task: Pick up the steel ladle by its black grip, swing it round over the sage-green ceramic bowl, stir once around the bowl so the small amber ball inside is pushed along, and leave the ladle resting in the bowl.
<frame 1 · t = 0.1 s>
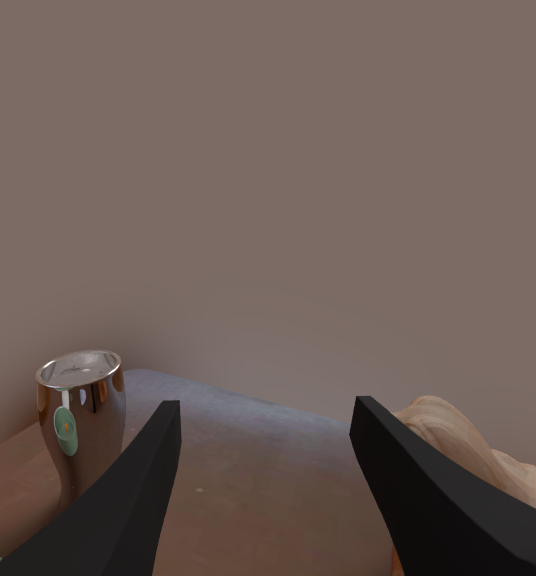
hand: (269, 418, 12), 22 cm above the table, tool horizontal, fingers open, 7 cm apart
beer glass: (95, 497, 31), on the table
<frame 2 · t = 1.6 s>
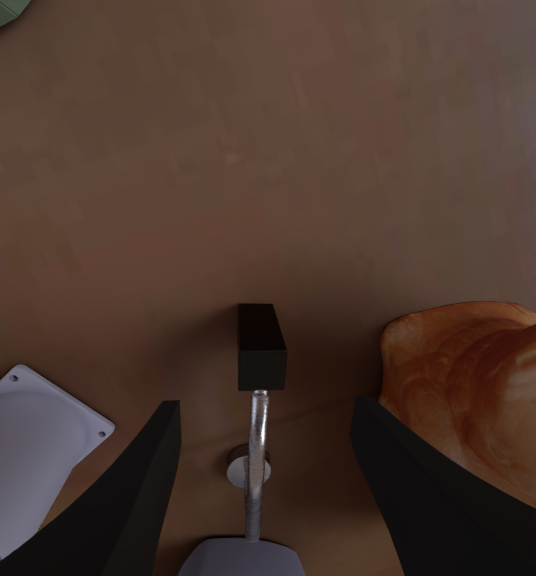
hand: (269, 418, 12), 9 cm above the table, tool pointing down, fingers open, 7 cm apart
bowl: (236, 571, 30), on the table
ceramic vessel: (442, 395, 25), on the table
ladle: (248, 460, 25), on the table
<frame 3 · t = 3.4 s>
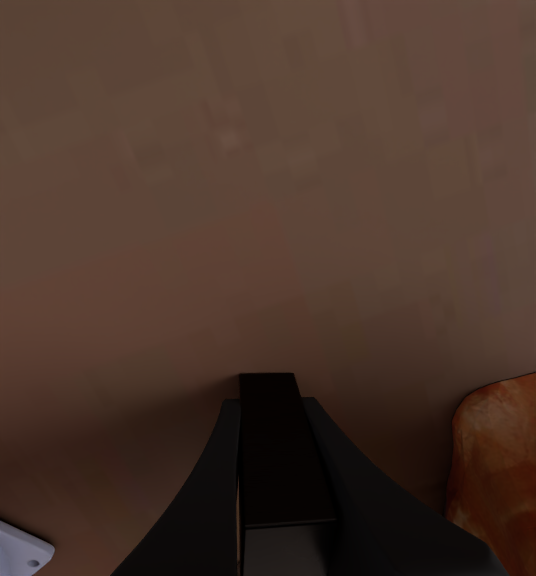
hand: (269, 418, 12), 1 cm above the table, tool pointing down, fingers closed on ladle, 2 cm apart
ceramic vessel: (529, 485, 18), on the table
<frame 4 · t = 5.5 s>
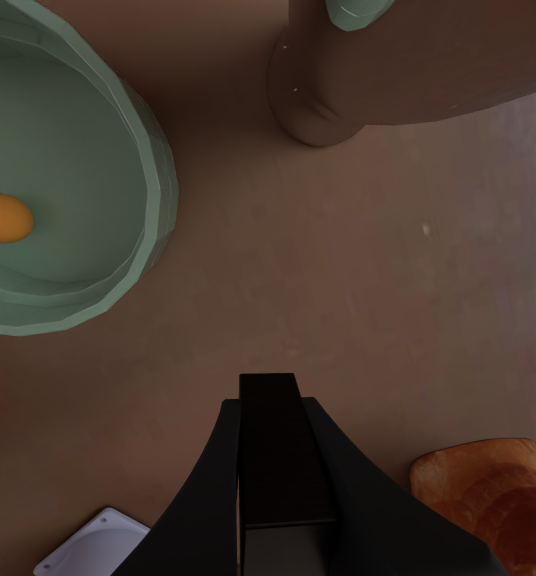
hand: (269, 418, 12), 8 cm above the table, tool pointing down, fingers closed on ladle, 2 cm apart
beer glass: (322, 84, 16), on the table
ceramic vessel: (461, 507, 29), on the table
soup bowl: (55, 182, 16), on the table
orange ball: (2, 218, 15), point 2 cm above the table, touching soup bowl
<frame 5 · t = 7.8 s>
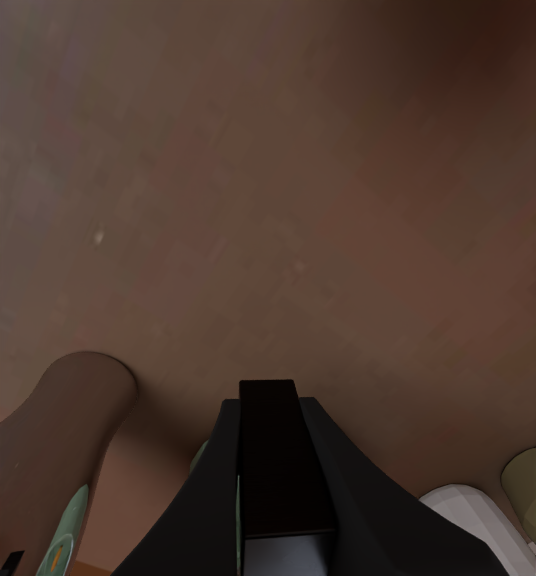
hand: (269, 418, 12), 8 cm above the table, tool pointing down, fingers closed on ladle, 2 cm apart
squeeze bottle: (527, 466, 28), on the table
beer glass: (93, 388, 21), on the table
cup: (440, 515, 29), on the table
soup bowl: (270, 471, 25), on the table
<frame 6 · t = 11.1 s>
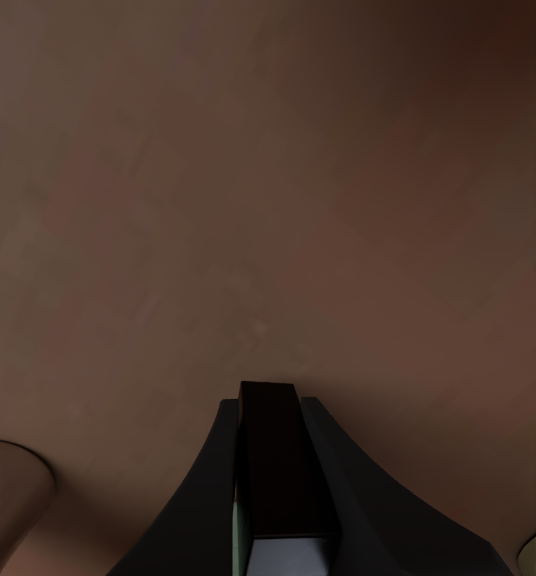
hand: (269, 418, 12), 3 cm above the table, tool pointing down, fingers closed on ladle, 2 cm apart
soup bowl: (235, 564, 20), on the table
when the fingers open (2 cm above the table, at t = 12.6 s): ladle stays where it is, resting on soup bowl.
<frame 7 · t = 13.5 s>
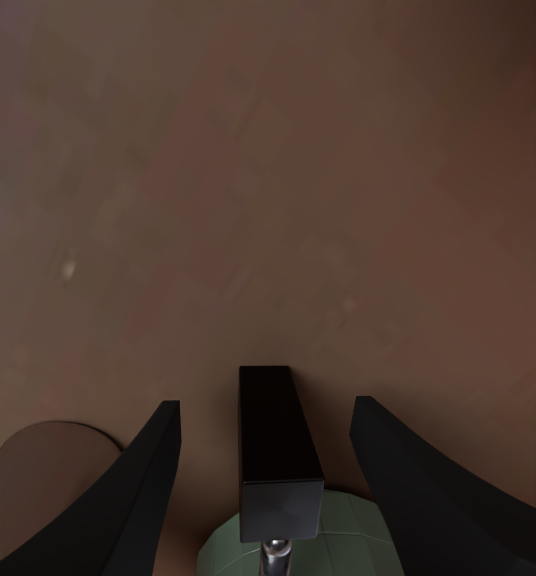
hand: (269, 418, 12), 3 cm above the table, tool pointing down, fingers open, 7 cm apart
beer glass: (67, 464, 15), on the table
soup bowl: (298, 554, 19), on the table
ladle: (251, 571, 18), point 1 cm above the table, touching soup bowl
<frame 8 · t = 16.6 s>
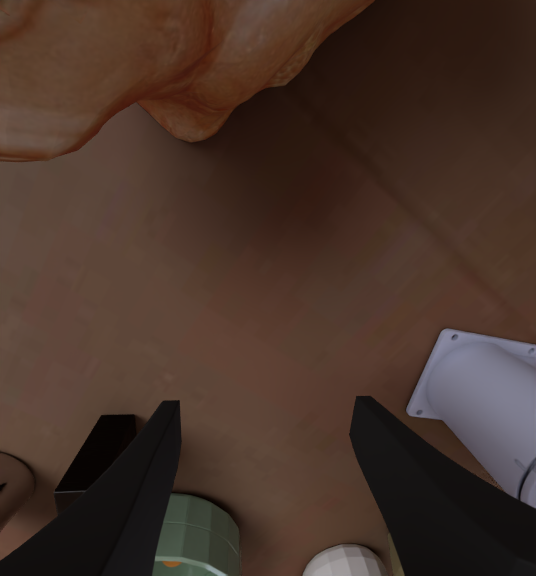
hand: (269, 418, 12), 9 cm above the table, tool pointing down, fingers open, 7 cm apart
squeeze bottle: (413, 527, 31), on the table
cup: (338, 569, 32), on the table
soup bowl: (168, 539, 27), on the table
orange ball: (174, 547, 25), point 2 cm above the table, tilted 32°, touching soup bowl
ladle: (131, 550, 26), point 1 cm above the table, touching soup bowl
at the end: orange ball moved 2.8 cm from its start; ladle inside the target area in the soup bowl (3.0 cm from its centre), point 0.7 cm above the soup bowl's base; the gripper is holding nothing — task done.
